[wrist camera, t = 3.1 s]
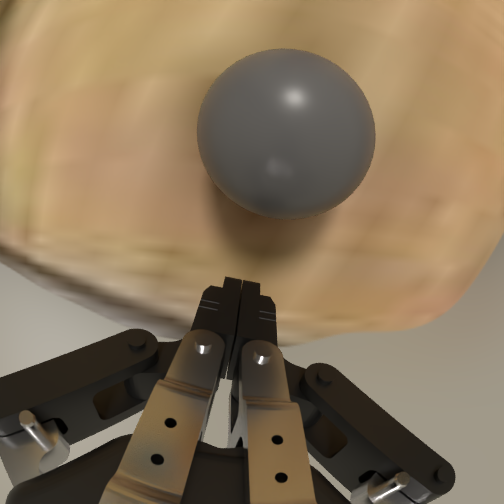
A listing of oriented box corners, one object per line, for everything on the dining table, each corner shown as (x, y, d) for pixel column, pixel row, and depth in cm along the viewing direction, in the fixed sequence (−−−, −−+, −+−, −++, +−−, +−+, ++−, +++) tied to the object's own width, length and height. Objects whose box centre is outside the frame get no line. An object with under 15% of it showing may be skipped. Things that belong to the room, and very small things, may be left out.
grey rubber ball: (196, 95, 10) (141, 70, 5) (322, 57, 9) (365, 7, 4) (240, 212, 12) (223, 275, 7) (359, 177, 11) (424, 214, 6)
